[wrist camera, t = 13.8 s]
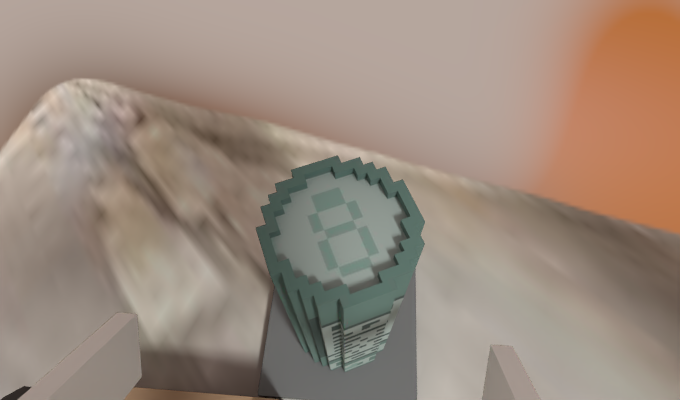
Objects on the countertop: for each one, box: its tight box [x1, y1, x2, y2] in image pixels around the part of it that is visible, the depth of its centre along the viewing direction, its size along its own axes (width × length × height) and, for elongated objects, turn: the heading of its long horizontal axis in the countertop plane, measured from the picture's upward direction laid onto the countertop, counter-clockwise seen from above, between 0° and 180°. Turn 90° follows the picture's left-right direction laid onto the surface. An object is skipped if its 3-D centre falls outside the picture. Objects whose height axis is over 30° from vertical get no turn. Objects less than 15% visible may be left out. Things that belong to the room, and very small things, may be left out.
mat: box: [258, 270, 417, 400], centre depth 30 cm, size 10×10×1 cm
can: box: [256, 156, 425, 372], centre depth 23 cm, size 6×6×15 cm
